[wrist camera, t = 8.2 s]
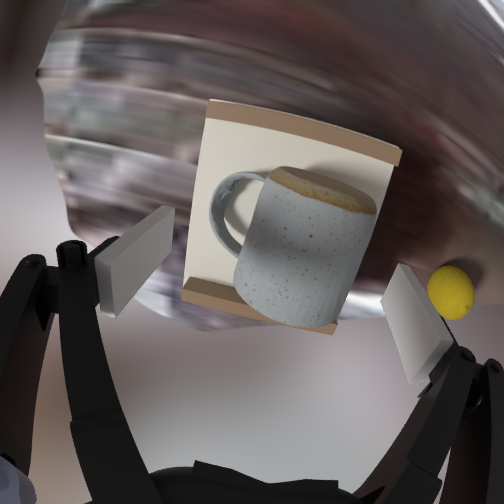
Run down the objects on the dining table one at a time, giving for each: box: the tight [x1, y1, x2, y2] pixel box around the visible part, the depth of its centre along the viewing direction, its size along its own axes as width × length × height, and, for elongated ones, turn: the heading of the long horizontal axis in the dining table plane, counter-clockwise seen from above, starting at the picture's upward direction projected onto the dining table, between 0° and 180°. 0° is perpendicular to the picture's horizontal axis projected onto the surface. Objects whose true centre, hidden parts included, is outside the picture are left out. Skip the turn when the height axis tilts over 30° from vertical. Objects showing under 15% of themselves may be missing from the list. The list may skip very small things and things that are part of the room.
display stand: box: [181, 99, 402, 335], centre depth 24 cm, size 14×16×10 cm
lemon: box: [427, 265, 475, 320], centre depth 26 cm, size 6×6×8 cm
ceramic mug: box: [209, 166, 377, 328], centre depth 18 cm, size 11×8×8 cm
